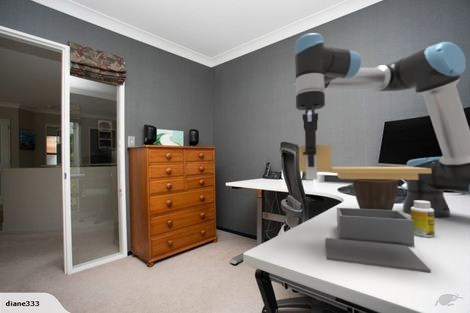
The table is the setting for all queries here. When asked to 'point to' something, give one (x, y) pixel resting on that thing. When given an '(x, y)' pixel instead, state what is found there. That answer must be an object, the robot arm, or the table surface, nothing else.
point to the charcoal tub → (375, 226)
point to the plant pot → (375, 193)
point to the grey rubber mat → (374, 254)
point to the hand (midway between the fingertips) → (311, 178)
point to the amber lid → (358, 168)
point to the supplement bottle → (423, 218)
